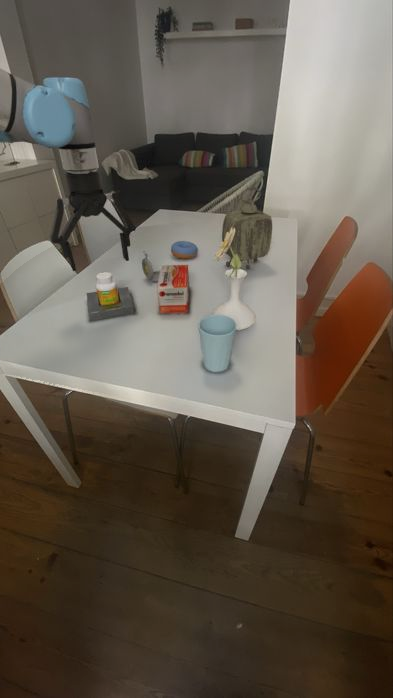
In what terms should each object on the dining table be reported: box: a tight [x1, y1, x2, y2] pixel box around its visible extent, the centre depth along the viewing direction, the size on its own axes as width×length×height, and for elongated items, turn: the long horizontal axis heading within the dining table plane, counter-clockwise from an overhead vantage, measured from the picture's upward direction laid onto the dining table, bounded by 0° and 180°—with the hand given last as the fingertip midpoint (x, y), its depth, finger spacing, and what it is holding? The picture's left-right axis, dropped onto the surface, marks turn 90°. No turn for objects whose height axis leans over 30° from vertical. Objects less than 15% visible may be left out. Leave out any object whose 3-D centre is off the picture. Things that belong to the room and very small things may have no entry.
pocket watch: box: [141, 250, 160, 283], centre depth 101 cm, size 8×8×10 cm
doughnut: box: [170, 240, 199, 260], centre depth 118 cm, size 10×10×5 cm
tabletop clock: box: [221, 186, 273, 270], centre depth 103 cm, size 14×9×25 cm, turn 111°
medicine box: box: [156, 264, 190, 314], centre depth 90 cm, size 15×8×8 cm, turn 1°
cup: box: [197, 314, 237, 373], centre depth 67 cm, size 8×8×10 cm
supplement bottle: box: [95, 271, 121, 306], centre depth 87 cm, size 5×5×10 cm
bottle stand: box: [86, 286, 135, 322], centre depth 89 cm, size 12×12×2 cm
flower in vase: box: [211, 227, 256, 332], centre depth 74 cm, size 13×11×25 cm
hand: (100, 263), depth 82 cm, fingers open, 13 cm apart
